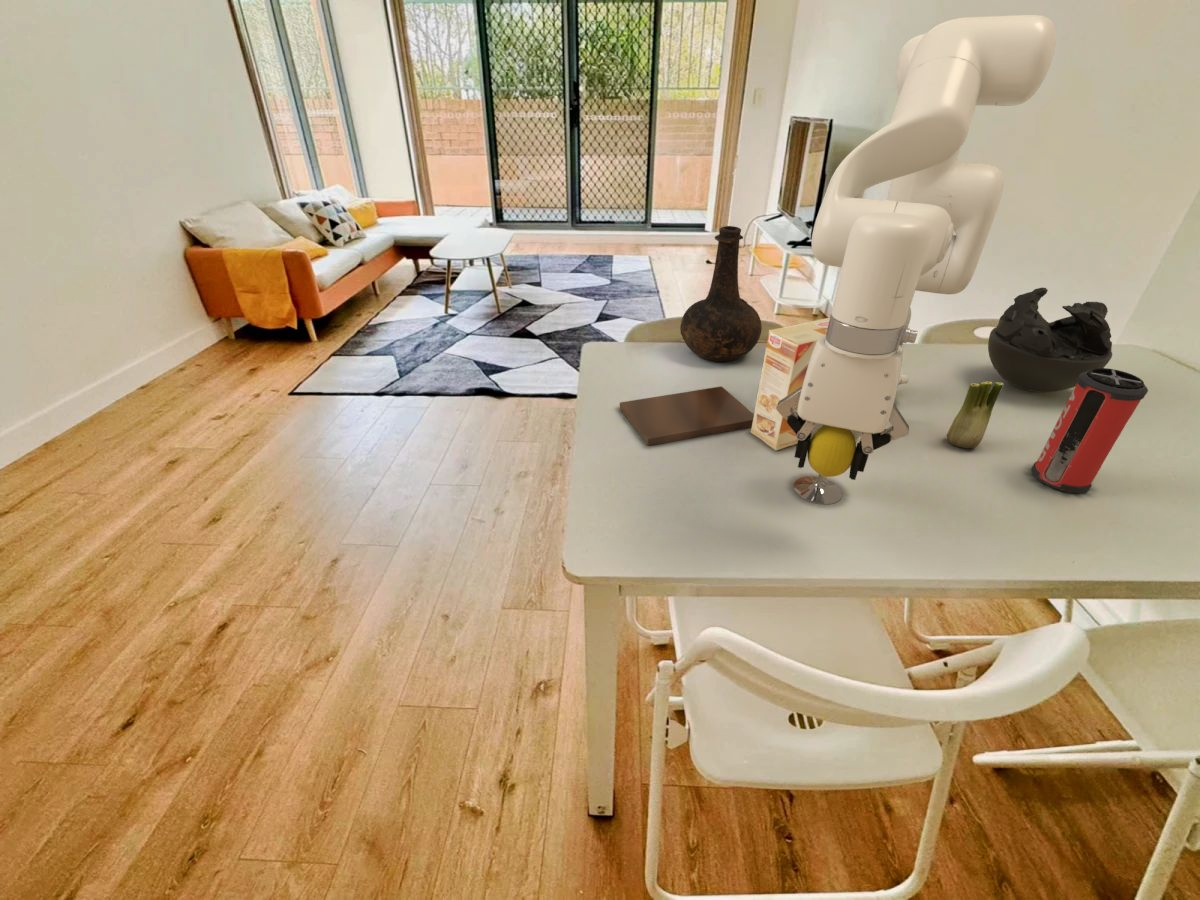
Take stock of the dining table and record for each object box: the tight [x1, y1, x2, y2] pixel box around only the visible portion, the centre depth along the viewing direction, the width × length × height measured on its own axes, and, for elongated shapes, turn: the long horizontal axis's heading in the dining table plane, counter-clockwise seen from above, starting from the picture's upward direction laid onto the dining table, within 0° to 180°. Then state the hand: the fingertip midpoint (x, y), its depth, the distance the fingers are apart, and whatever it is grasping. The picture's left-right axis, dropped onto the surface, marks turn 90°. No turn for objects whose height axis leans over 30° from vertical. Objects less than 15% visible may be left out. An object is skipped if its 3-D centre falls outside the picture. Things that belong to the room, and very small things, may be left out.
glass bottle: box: [679, 225, 763, 362], centre depth 123 cm, size 18×18×28 cm
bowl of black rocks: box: [987, 287, 1113, 393], centre depth 111 cm, size 20×20×19 cm
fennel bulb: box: [946, 381, 1004, 449], centre depth 94 cm, size 6×5×12 cm
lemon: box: [807, 425, 857, 479], centre depth 70 cm, size 6×6×8 cm
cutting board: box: [619, 385, 754, 447], centre depth 105 cm, size 22×14×2 cm, turn 109°
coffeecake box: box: [750, 317, 830, 451], centre depth 96 cm, size 15×7×20 cm, turn 117°
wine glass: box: [792, 423, 861, 505], centre depth 82 cm, size 8×8×15 cm
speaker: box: [1031, 367, 1149, 494], centre depth 84 cm, size 8×8×18 cm
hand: (827, 466), depth 72 cm, fingers closed on lemon, 5 cm apart
